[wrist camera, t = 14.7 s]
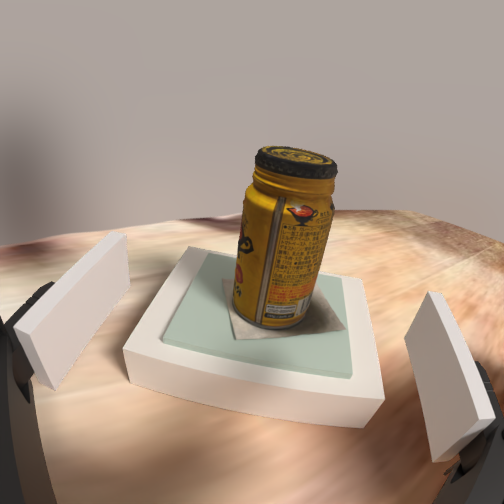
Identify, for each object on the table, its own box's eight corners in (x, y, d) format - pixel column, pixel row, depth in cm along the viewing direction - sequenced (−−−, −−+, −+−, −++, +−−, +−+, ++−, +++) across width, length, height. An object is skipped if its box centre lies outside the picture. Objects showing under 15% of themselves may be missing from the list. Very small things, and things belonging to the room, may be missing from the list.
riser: (130, 382, 22) (121, 342, 20) (187, 278, 35) (189, 241, 33) (363, 428, 21) (388, 394, 18) (350, 309, 34) (363, 274, 31)
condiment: (221, 280, 27) (236, 138, 22) (312, 278, 30) (343, 150, 24) (235, 342, 21) (261, 165, 15) (345, 332, 23) (397, 182, 18)
